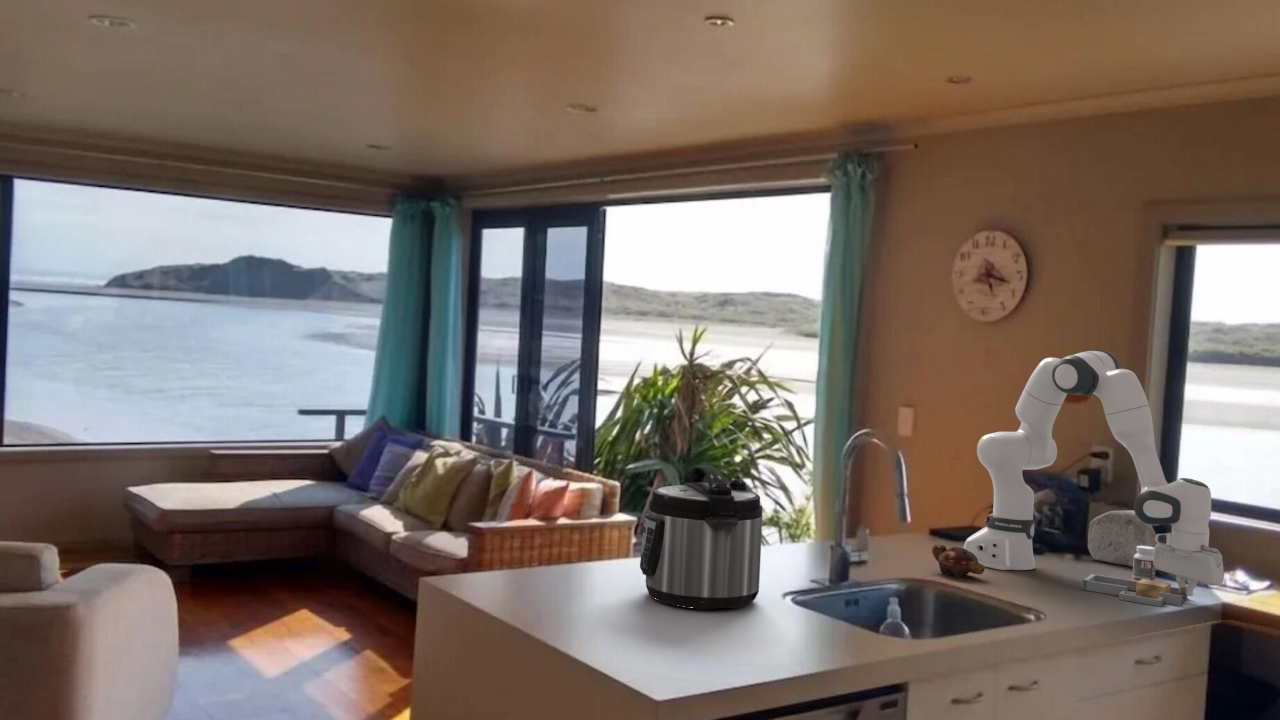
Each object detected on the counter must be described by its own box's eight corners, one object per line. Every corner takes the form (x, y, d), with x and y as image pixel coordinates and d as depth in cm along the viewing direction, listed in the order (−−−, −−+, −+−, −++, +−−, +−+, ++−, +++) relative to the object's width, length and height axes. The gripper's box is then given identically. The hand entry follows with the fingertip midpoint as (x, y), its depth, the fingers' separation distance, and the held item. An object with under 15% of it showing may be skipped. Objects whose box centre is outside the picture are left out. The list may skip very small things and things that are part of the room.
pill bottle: (1156, 585, 314) (1159, 550, 313) (1134, 583, 315) (1137, 548, 314) (1151, 581, 319) (1154, 546, 319) (1130, 579, 320) (1132, 544, 320)
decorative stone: (1162, 569, 339) (1148, 573, 332) (1097, 555, 353) (1083, 559, 346) (1167, 513, 338) (1153, 516, 331) (1101, 502, 352) (1087, 505, 345)
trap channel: (1078, 592, 300) (1078, 583, 299) (1091, 582, 313) (1092, 573, 313) (1177, 609, 286) (1178, 599, 286) (1187, 598, 299) (1188, 589, 299)
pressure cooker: (665, 578, 289) (672, 454, 288) (772, 594, 279) (780, 465, 278) (619, 603, 261) (627, 466, 260) (737, 621, 251) (746, 478, 250)
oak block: (1135, 597, 299) (1136, 582, 299) (1142, 593, 303) (1143, 578, 303) (1163, 602, 294) (1164, 587, 294) (1169, 598, 299) (1171, 583, 299)
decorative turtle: (934, 568, 321) (938, 540, 321) (987, 581, 313) (992, 552, 312) (922, 571, 313) (927, 542, 313) (976, 584, 305) (981, 555, 304)
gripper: (1231, 550, 285) (1227, 604, 286) (1169, 534, 305) (1165, 585, 305) (1212, 550, 283) (1208, 605, 284) (1150, 534, 303) (1146, 585, 303)
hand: (1185, 594), depth 295 cm, fingers closed
